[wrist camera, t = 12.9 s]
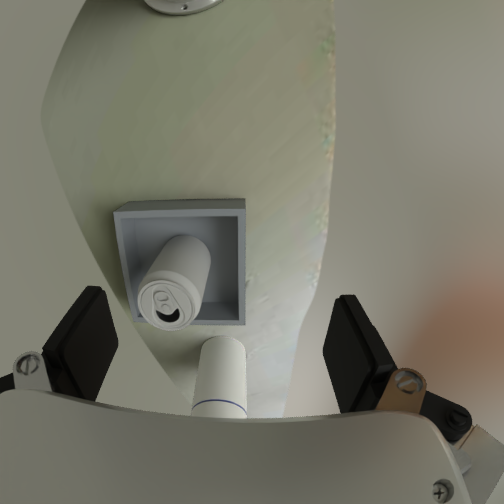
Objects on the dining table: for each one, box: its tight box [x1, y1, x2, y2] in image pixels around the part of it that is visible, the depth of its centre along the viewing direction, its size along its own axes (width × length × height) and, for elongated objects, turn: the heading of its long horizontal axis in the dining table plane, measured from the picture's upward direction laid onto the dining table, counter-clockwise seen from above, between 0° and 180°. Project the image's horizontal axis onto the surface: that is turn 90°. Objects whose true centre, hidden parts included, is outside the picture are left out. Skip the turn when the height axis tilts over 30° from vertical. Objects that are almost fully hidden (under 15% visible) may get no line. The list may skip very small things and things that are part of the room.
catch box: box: [113, 199, 246, 325], centre depth 35 cm, size 15×15×5 cm
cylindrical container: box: [191, 336, 247, 418], centre depth 33 cm, size 7×7×25 cm
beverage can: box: [138, 235, 211, 331], centre depth 31 cm, size 6×6×12 cm
